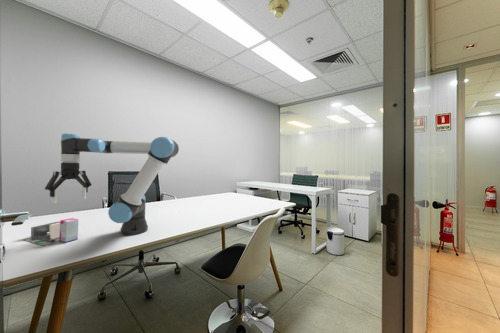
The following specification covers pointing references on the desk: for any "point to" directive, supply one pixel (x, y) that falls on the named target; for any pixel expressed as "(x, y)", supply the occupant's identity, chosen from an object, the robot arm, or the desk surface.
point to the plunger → (53, 231)
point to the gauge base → (41, 235)
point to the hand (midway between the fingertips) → (69, 200)
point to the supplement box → (68, 230)
